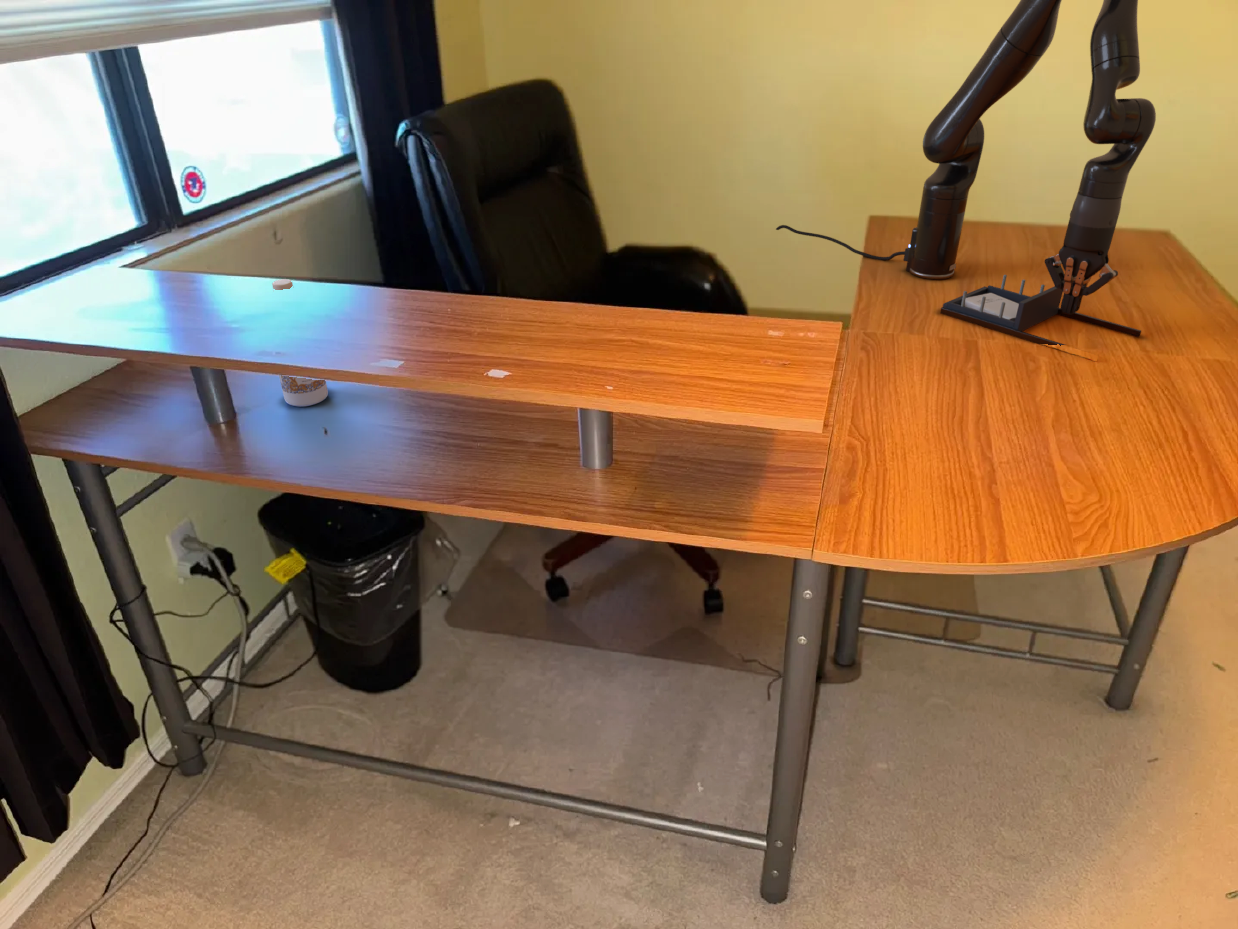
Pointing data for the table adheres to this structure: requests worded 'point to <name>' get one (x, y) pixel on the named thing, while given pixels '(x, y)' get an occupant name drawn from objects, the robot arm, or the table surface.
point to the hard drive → (993, 305)
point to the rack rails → (1033, 337)
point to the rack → (1028, 309)
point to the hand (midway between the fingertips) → (1068, 313)
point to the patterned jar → (300, 388)
